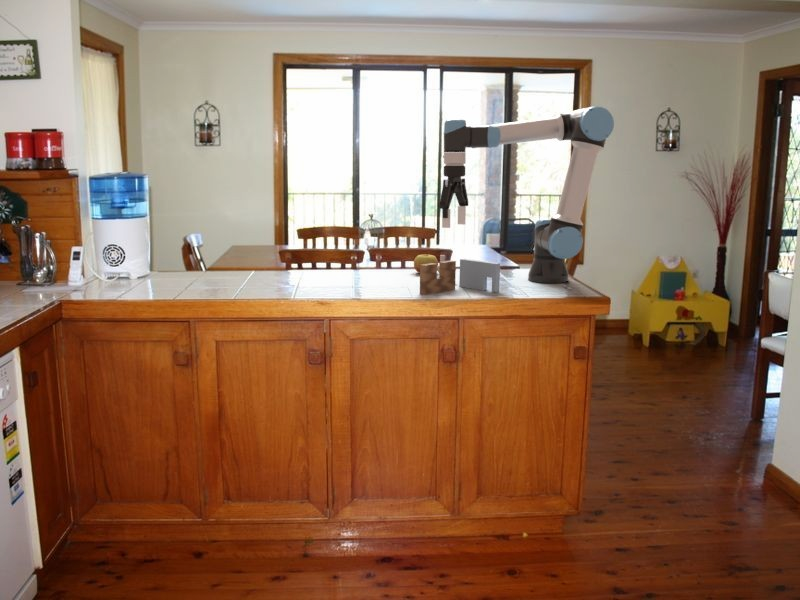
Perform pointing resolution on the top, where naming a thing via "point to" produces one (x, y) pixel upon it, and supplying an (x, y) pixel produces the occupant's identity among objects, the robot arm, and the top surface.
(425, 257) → the apple
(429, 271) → the notched wooden slab
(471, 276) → the grey notched arch block
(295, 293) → the top surface
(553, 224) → the robot arm
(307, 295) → the top surface
